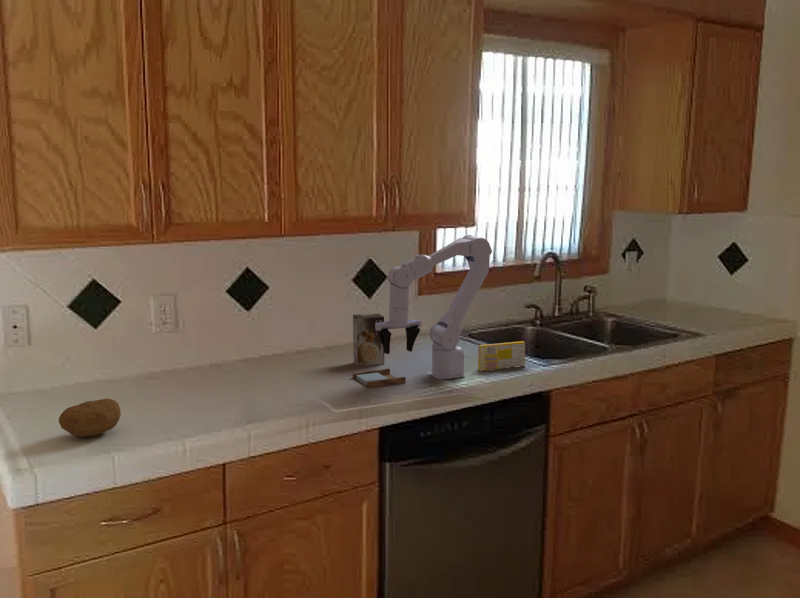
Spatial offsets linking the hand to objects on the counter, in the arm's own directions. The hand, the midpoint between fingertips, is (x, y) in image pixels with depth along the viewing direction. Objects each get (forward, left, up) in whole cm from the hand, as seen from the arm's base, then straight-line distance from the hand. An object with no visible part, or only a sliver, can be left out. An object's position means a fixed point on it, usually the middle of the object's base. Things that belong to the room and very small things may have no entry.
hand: (398, 352), depth 232 cm
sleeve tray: (+6, 0, -9) cm, 11 cm away
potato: (+87, +12, -9) cm, 89 cm away
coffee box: (0, -20, -9) cm, 22 cm away
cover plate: (+8, 0, -8) cm, 12 cm away
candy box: (-36, +2, -9) cm, 37 cm away
